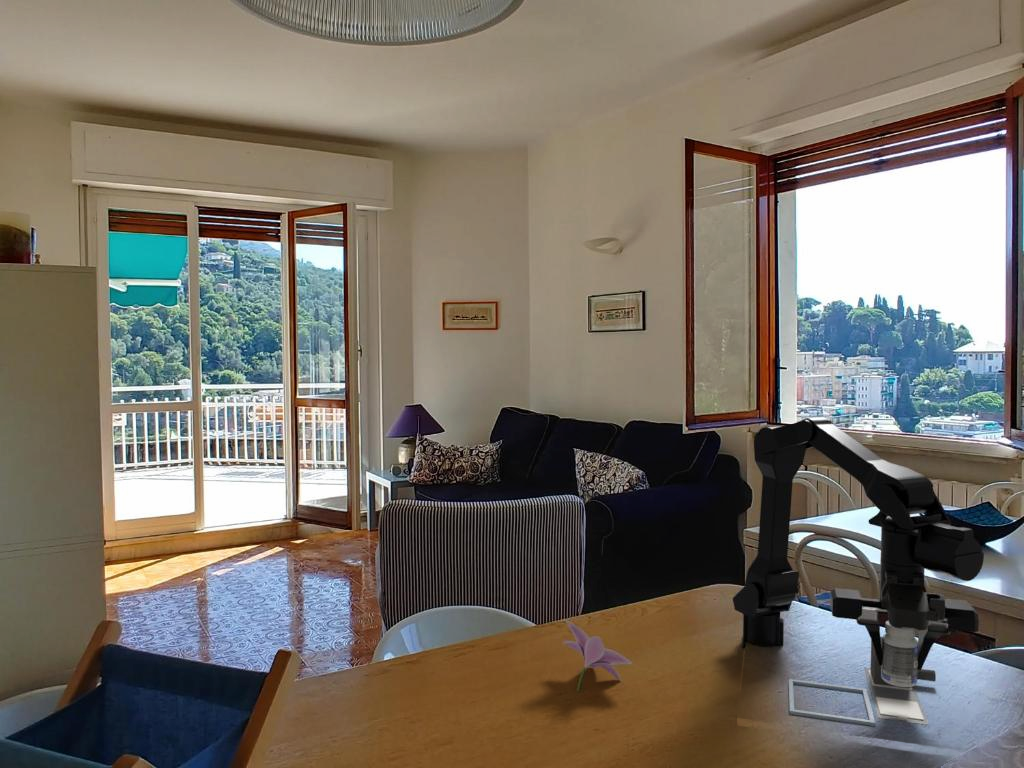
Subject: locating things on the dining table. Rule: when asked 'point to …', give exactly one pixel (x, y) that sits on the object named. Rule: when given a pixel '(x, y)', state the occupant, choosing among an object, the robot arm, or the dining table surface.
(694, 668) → the dining table surface
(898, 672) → the pill bottle
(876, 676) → the grey block with peg
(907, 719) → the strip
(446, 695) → the dining table surface
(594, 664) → the lily
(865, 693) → the grey square frame
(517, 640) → the dining table surface
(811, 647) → the dining table surface
